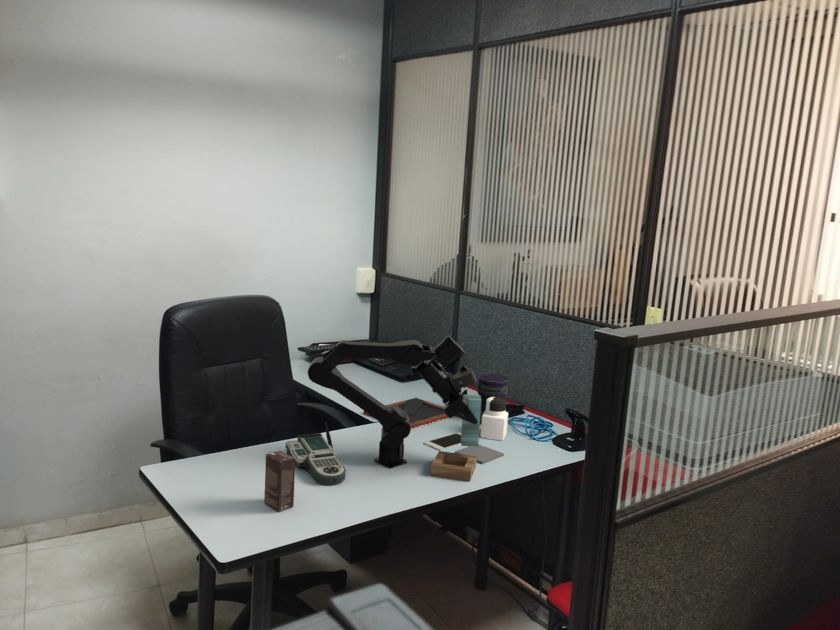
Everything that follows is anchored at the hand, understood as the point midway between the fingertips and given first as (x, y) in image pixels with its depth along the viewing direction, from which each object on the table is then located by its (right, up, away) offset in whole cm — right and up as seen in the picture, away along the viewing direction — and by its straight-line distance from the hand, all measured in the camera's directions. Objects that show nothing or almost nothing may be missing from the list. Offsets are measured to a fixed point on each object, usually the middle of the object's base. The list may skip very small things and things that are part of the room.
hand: (476, 420), depth 183 cm
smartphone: (-6, -10, +20) cm, 24 cm away
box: (-48, -16, -27) cm, 57 cm away
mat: (+2, -12, +12) cm, 16 cm away
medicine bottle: (+8, -9, +28) cm, 30 cm away
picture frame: (-18, -6, +44) cm, 48 cm away
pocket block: (-6, -13, -1) cm, 15 cm away
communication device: (-42, -12, -4) cm, 44 cm away
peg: (-2, -6, +1) cm, 7 cm away
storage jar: (+8, -7, +41) cm, 42 cm away
